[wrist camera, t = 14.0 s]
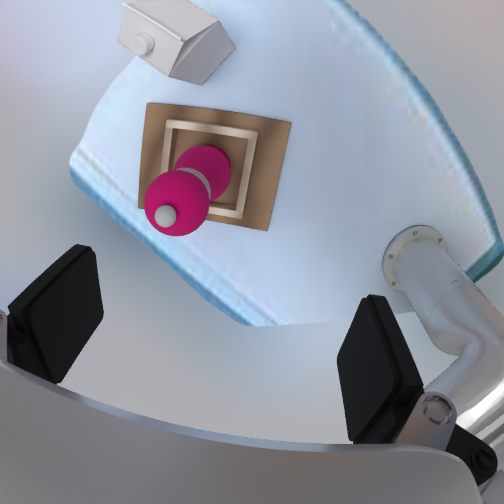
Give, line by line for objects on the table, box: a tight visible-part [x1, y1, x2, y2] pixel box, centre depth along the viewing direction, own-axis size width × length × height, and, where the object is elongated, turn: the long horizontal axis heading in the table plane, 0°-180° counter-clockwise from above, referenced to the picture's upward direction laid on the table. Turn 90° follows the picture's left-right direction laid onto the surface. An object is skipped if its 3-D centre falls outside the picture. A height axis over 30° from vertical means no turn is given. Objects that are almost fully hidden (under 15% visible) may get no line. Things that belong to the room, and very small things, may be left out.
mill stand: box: [138, 103, 291, 231], centre depth 40 cm, size 20×16×3 cm
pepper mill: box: [144, 145, 231, 236], centre depth 32 cm, size 7×7×20 cm
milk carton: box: [117, 0, 235, 85], centre depth 26 cm, size 7×7×19 cm
